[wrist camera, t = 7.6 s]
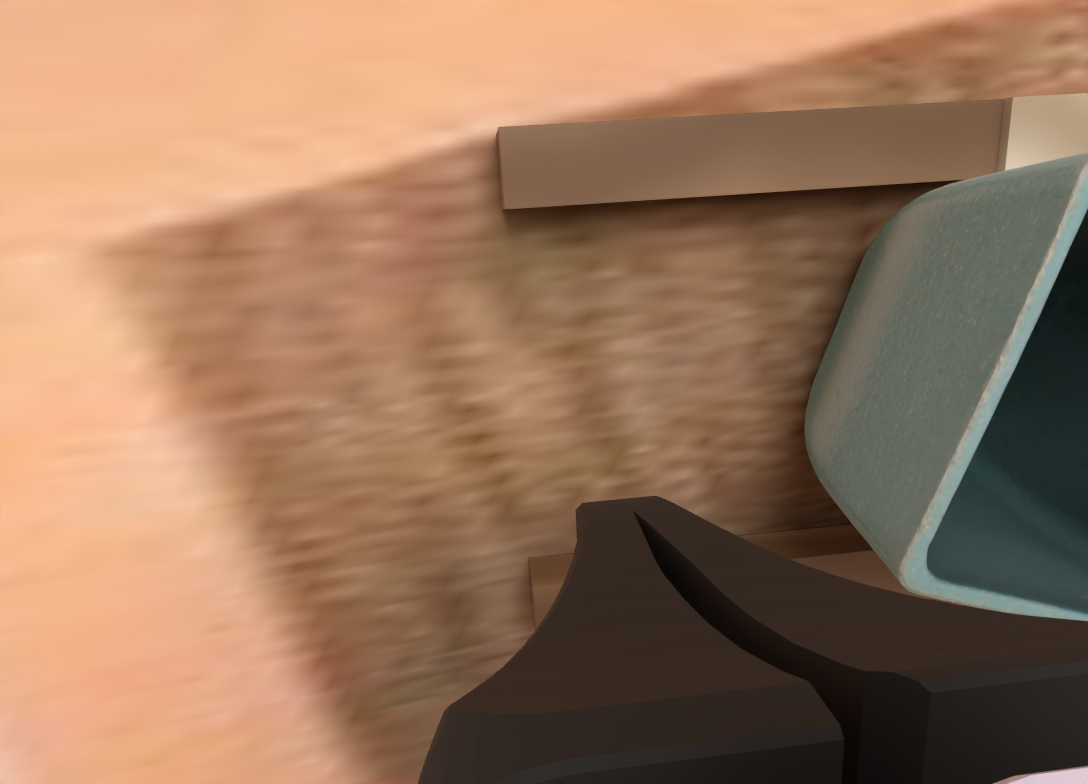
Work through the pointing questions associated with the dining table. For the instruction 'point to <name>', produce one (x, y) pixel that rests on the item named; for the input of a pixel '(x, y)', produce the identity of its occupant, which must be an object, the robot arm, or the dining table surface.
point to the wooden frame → (772, 166)
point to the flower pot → (968, 393)
